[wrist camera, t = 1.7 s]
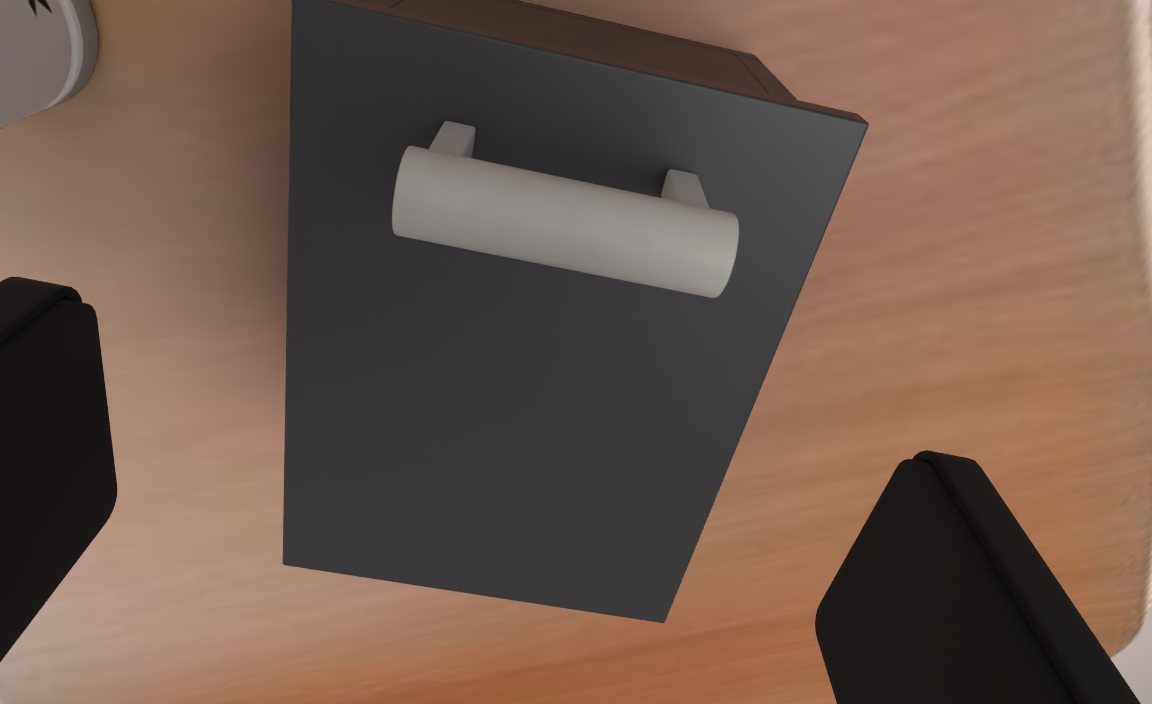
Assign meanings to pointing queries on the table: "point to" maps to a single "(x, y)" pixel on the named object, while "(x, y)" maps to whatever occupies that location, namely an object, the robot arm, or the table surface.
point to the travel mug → (43, 54)
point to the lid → (529, 303)
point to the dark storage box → (601, 39)
